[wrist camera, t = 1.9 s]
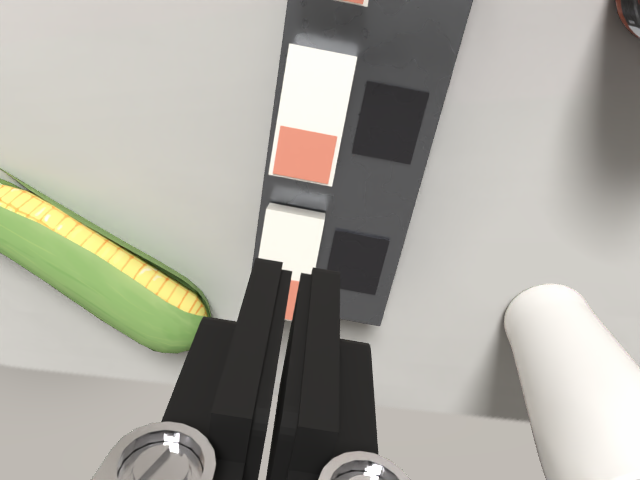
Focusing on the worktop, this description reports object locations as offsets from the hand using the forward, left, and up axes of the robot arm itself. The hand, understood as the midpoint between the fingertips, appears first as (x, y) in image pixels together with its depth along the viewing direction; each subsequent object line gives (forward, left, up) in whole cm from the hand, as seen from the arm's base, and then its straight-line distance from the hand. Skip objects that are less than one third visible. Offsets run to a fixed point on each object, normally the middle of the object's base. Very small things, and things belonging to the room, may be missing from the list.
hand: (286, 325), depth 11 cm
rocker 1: (+1, 0, -16) cm, 16 cm away
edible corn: (+14, +12, -22) cm, 29 cm away
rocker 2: (+1, +8, -16) cm, 18 cm away
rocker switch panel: (-1, 0, -21) cm, 21 cm away
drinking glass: (-16, +12, -21) cm, 29 cm away
